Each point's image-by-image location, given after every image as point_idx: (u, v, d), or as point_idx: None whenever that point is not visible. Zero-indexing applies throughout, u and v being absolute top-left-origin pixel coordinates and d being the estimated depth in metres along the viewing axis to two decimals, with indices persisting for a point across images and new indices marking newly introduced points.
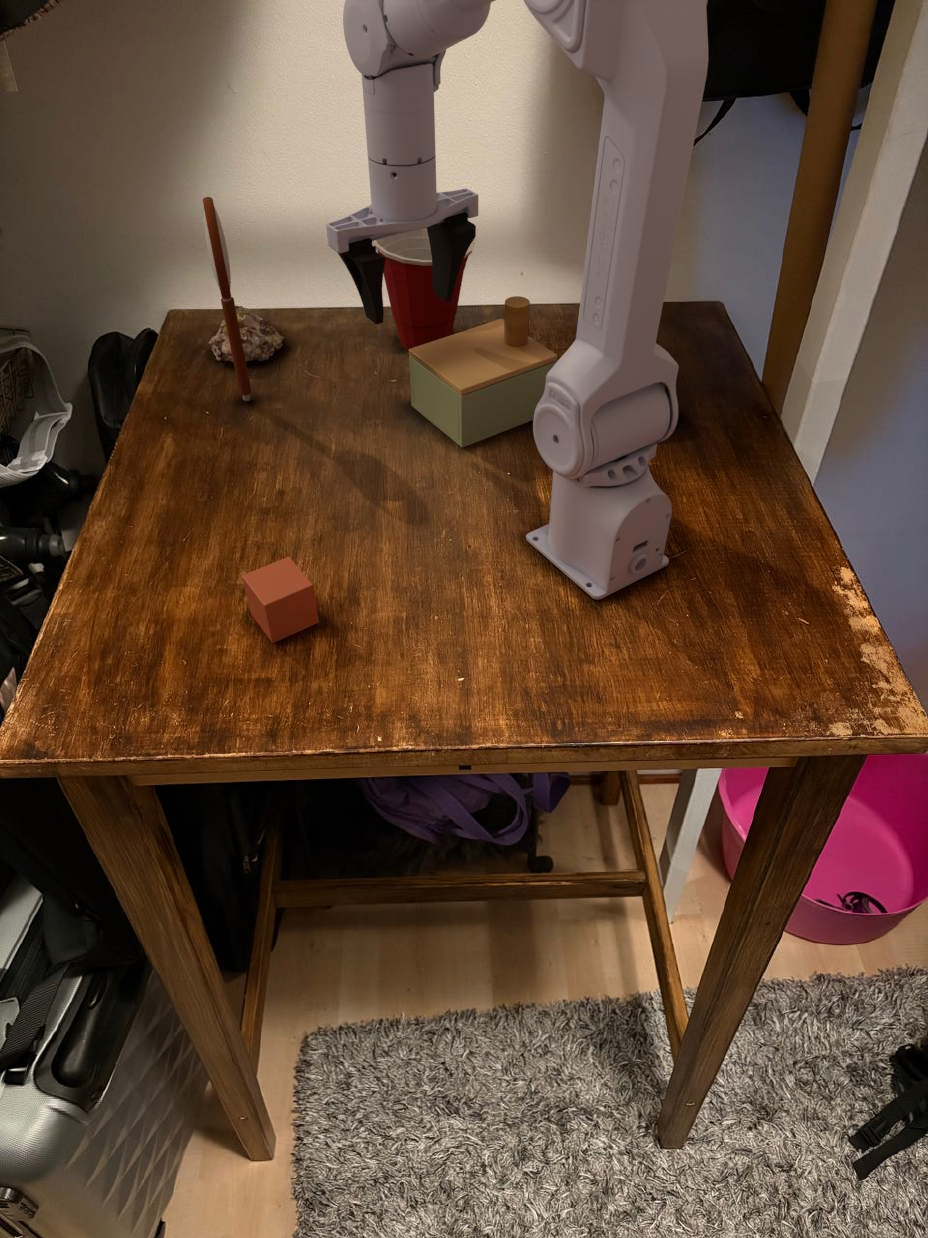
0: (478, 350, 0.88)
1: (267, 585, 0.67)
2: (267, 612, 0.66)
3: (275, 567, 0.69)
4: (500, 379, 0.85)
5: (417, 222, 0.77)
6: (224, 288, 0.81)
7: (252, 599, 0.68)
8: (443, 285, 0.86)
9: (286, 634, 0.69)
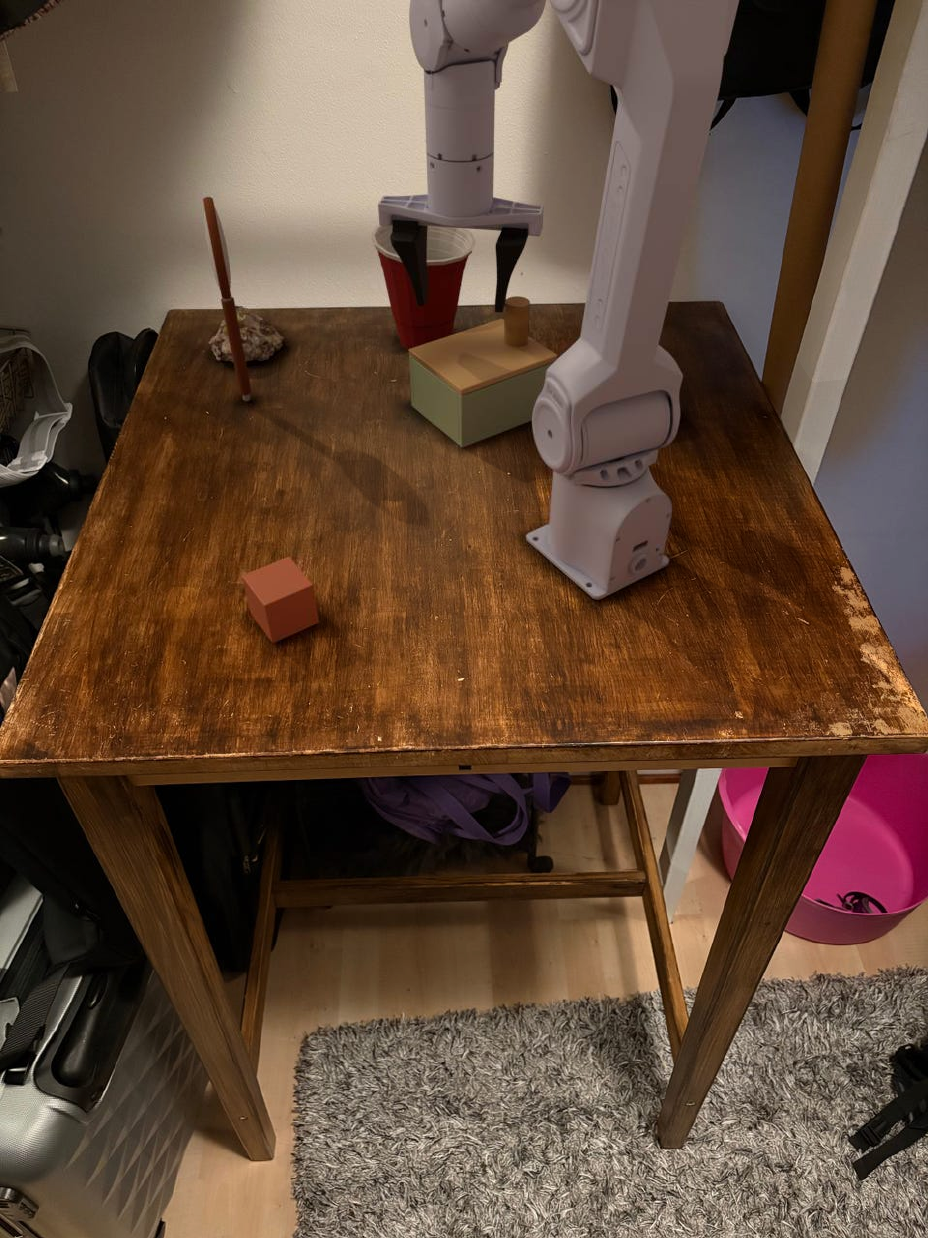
0: (478, 350, 0.88)
1: (267, 585, 0.67)
2: (267, 612, 0.66)
3: (275, 567, 0.69)
4: (500, 379, 0.85)
5: (447, 218, 0.78)
6: (224, 288, 0.81)
7: (252, 599, 0.68)
8: None
9: (286, 634, 0.69)
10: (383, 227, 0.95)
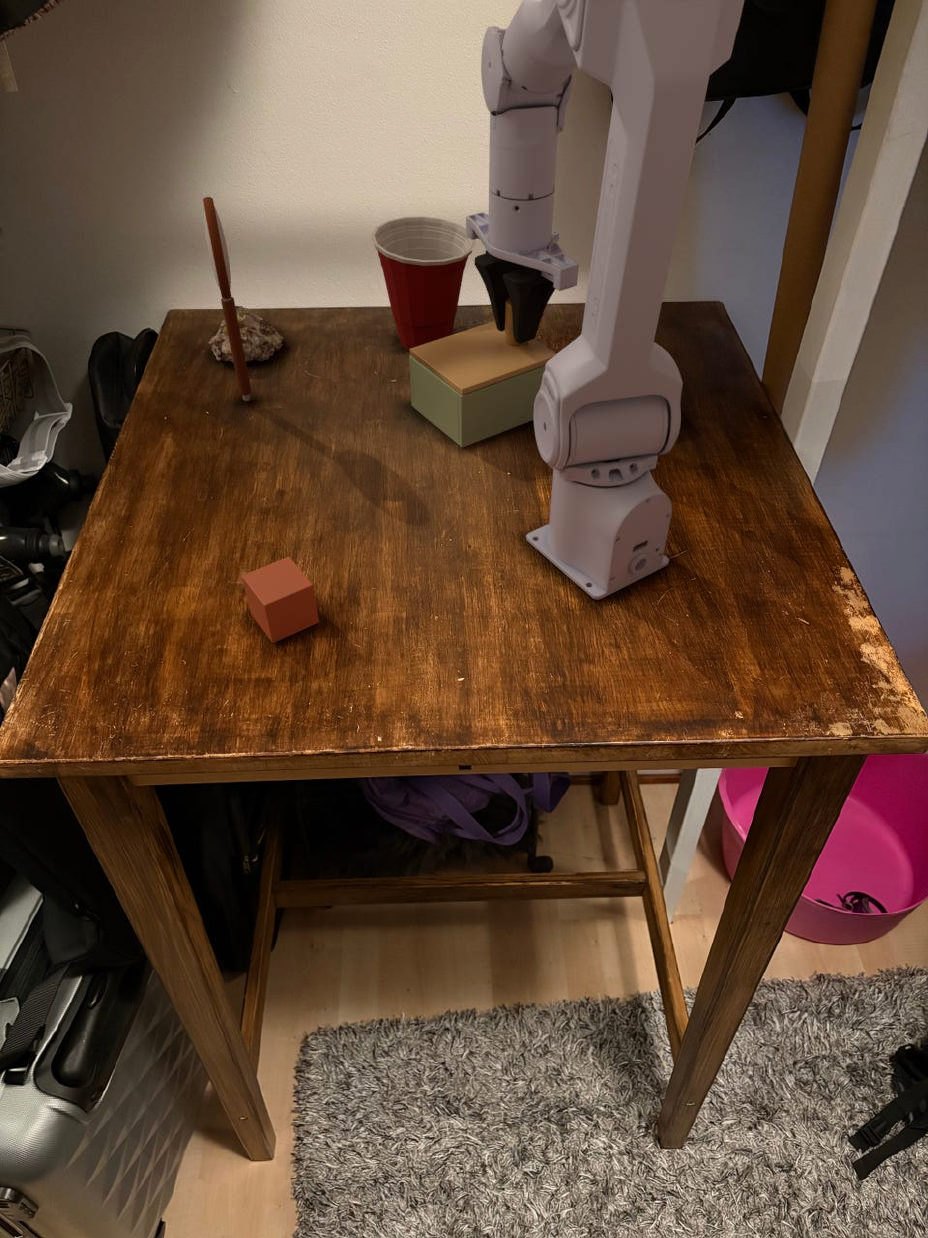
0: (479, 350, 0.88)
1: (267, 585, 0.67)
2: (267, 612, 0.66)
3: (275, 567, 0.69)
4: (501, 379, 0.85)
5: (489, 246, 0.81)
6: (224, 288, 0.81)
7: (252, 599, 0.68)
8: None
9: (286, 634, 0.69)
10: (383, 227, 0.95)
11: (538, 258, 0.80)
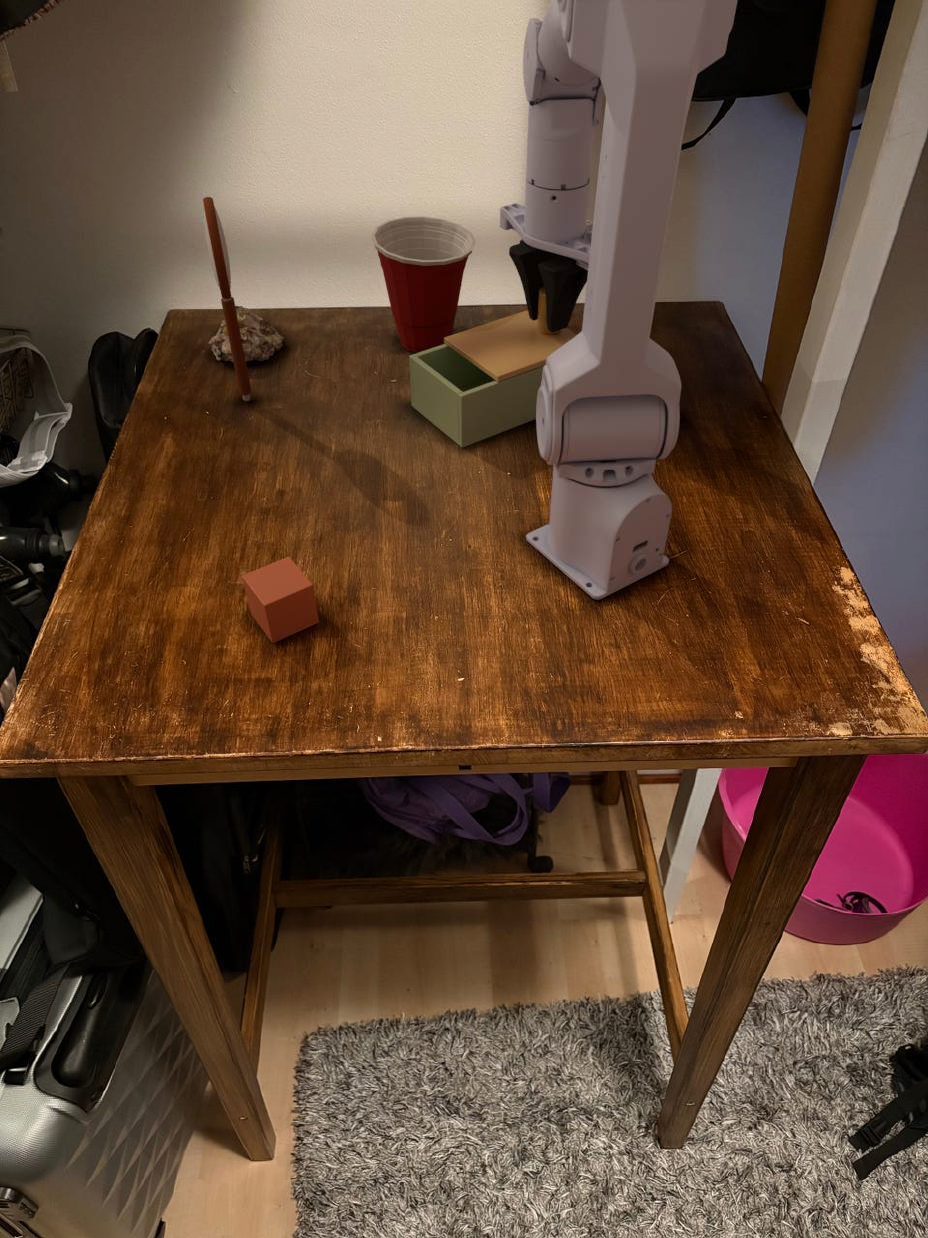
0: (513, 338, 0.89)
1: (267, 585, 0.67)
2: (267, 612, 0.66)
3: (275, 567, 0.69)
4: (535, 366, 0.86)
5: (525, 235, 0.83)
6: (224, 288, 0.81)
7: (252, 599, 0.68)
8: None
9: (286, 634, 0.69)
10: (383, 227, 0.95)
11: (573, 247, 0.82)
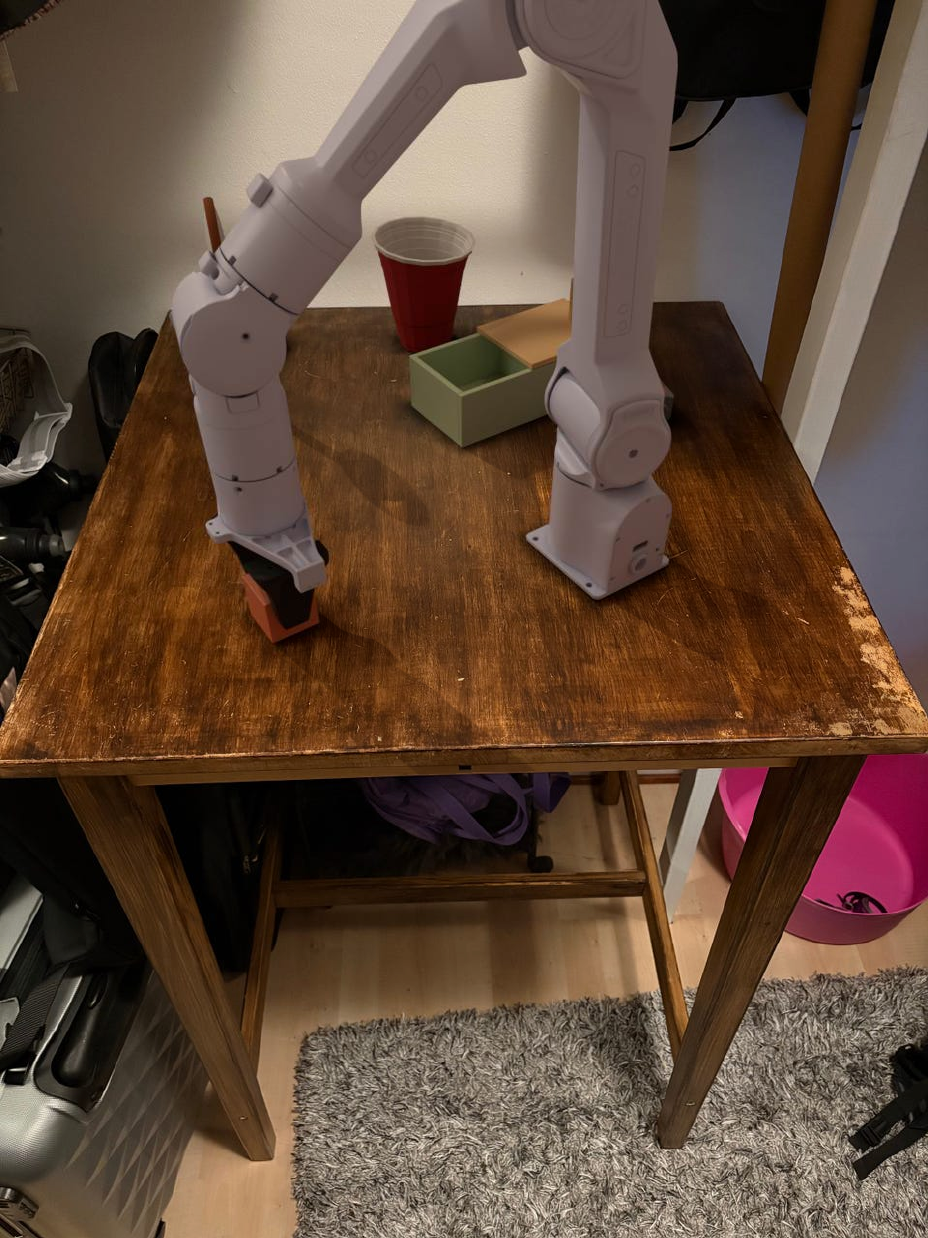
0: (545, 327, 0.91)
1: None
2: (267, 613, 0.66)
3: None
4: None
5: None
6: None
7: (252, 599, 0.68)
8: None
9: (286, 634, 0.69)
10: (383, 227, 0.95)
11: None
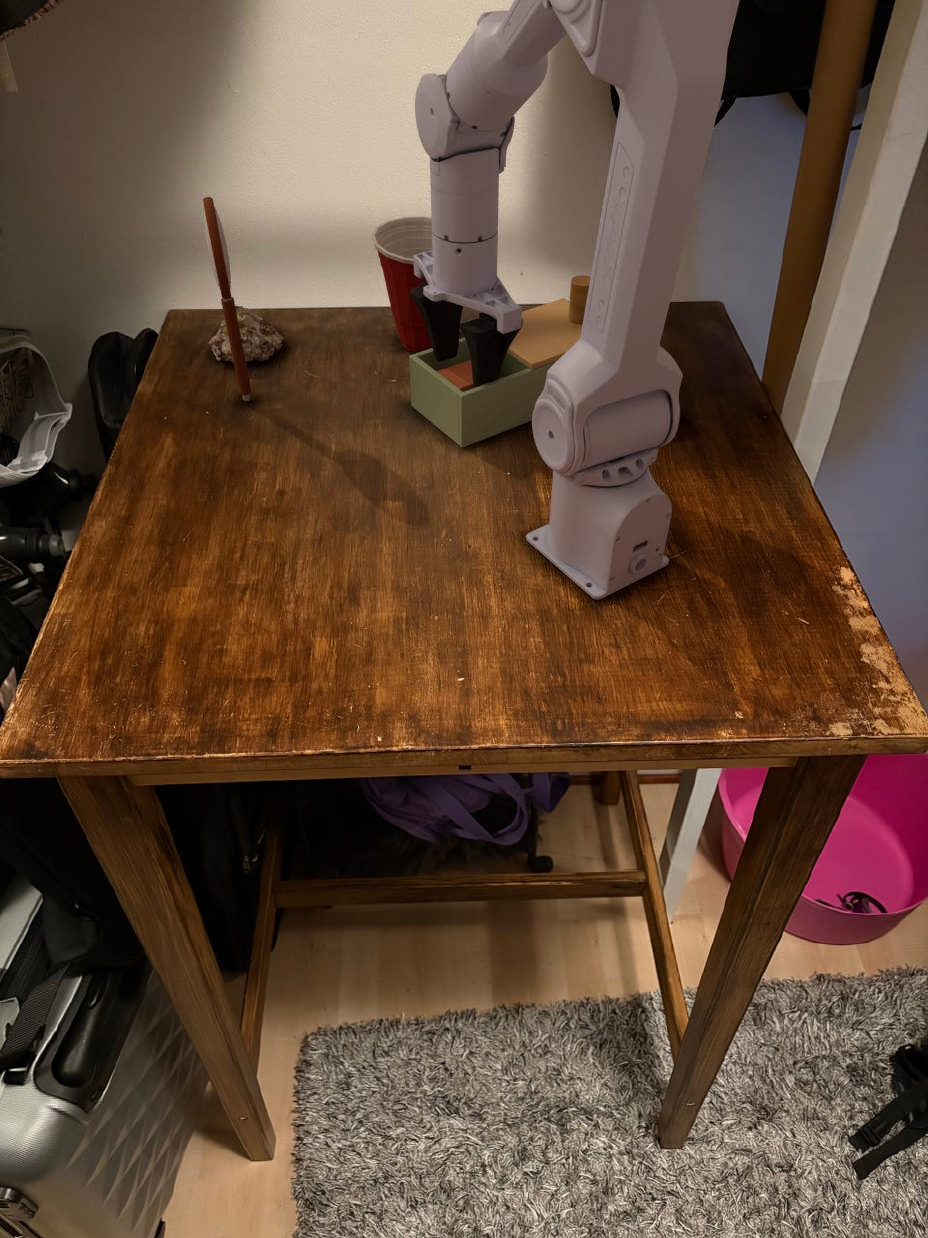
0: (545, 327, 0.91)
1: (458, 377, 0.87)
2: None
3: (461, 366, 0.89)
4: None
5: None
6: (224, 288, 0.81)
7: None
8: (452, 343, 0.89)
9: None
10: (383, 227, 0.95)
11: None
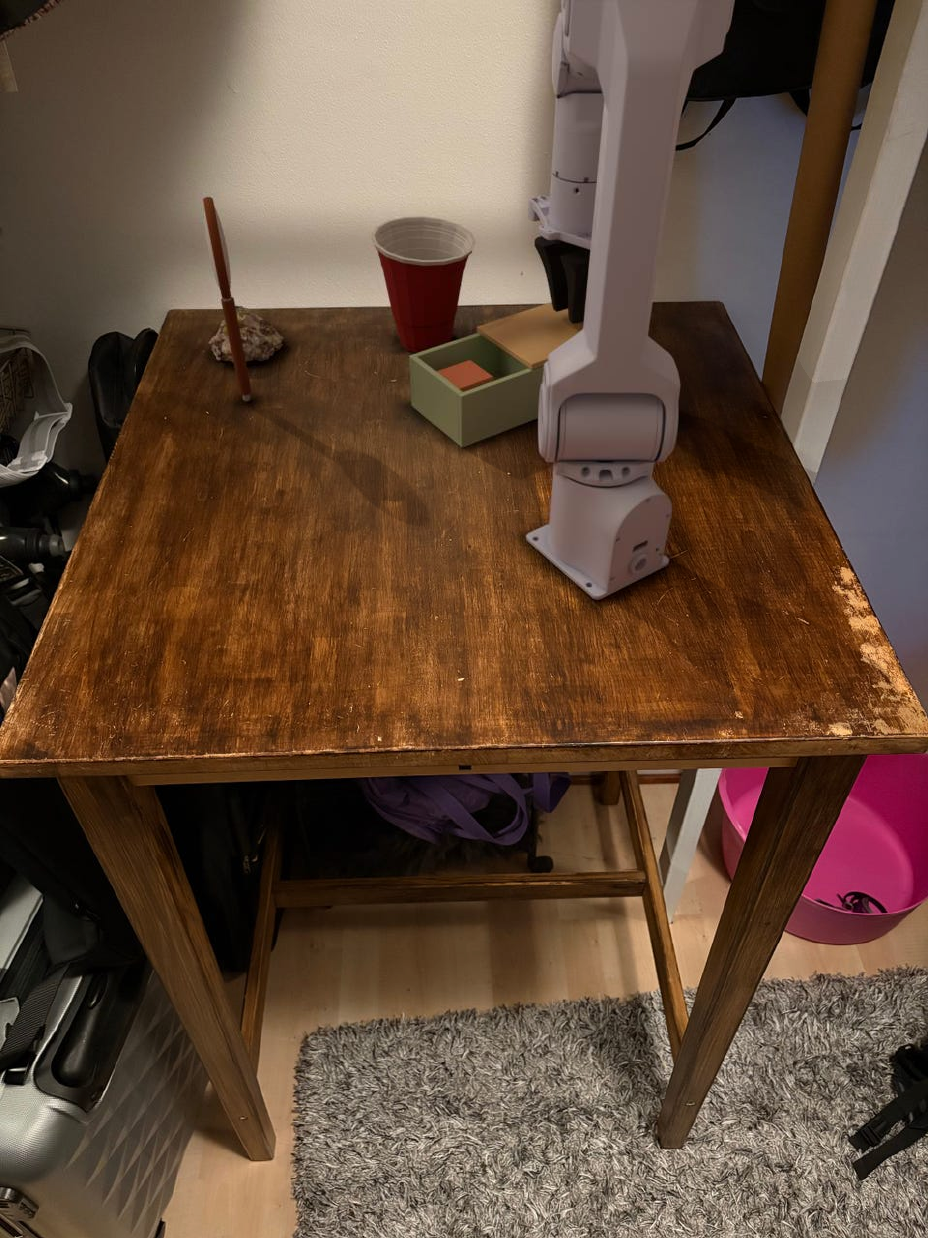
0: (544, 327, 0.91)
1: (458, 377, 0.87)
2: None
3: (461, 366, 0.89)
4: None
5: None
6: (224, 288, 0.81)
7: None
8: None
9: None
10: (383, 227, 0.95)
11: None
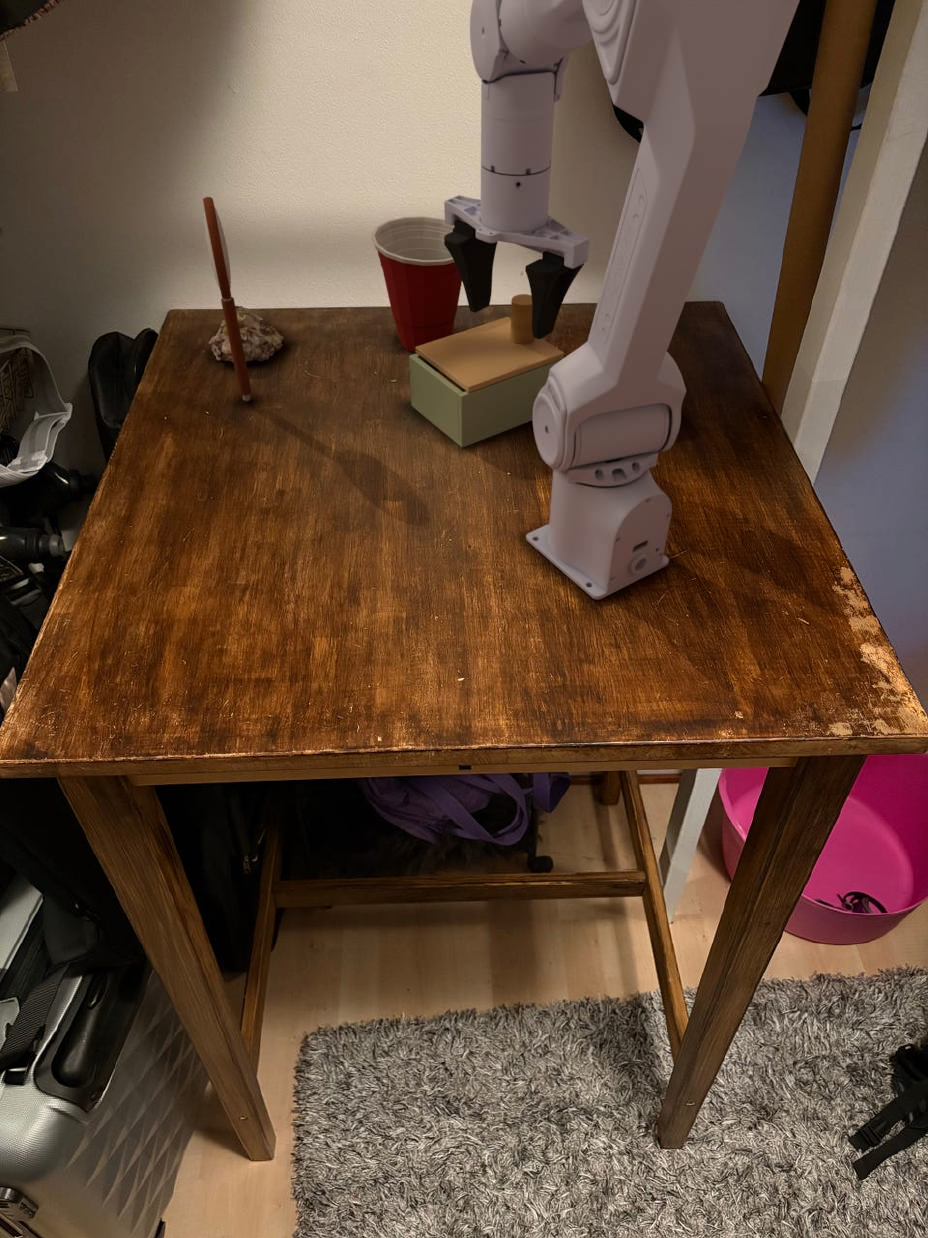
0: (485, 348, 0.88)
1: None
2: None
3: None
4: (507, 376, 0.85)
5: None
6: (224, 288, 0.81)
7: None
8: (485, 291, 0.84)
9: None
10: (383, 227, 0.95)
11: None
